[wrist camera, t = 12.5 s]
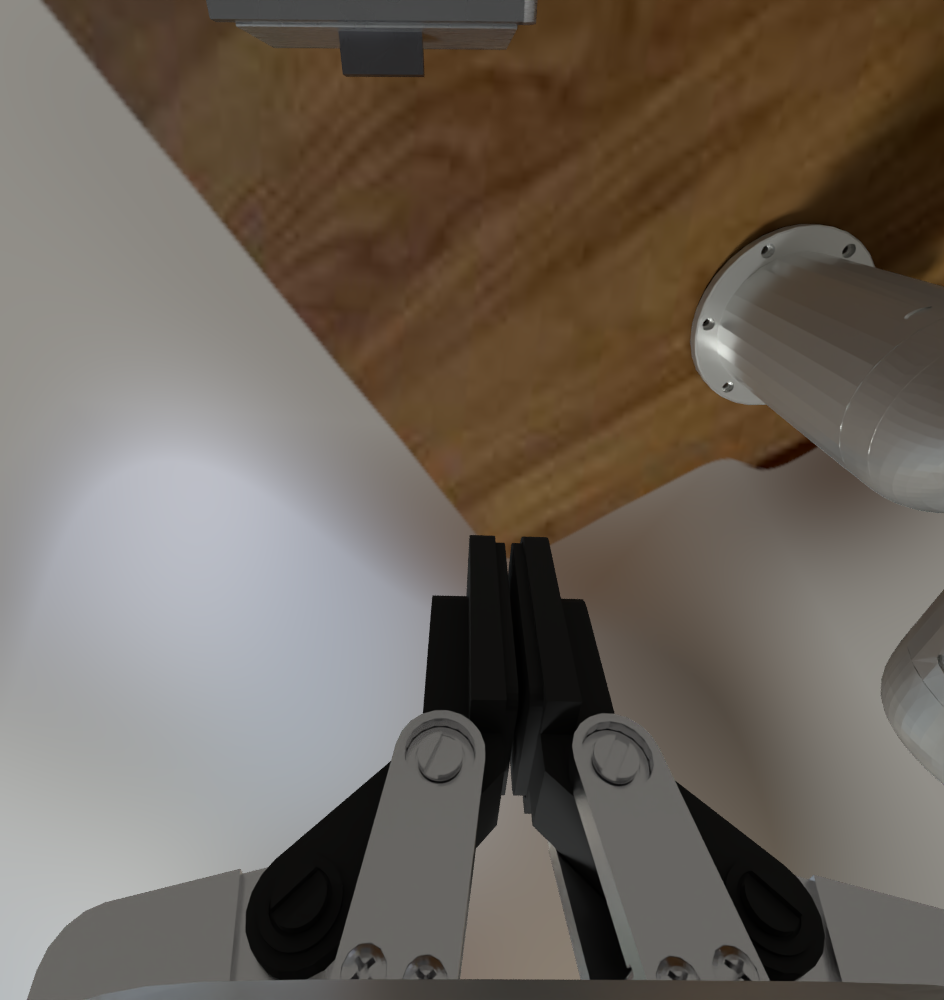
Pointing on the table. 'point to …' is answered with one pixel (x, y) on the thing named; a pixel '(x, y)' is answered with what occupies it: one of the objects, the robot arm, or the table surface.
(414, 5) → the lid
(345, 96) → the table surface
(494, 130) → the table surface
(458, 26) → the cooker pot
